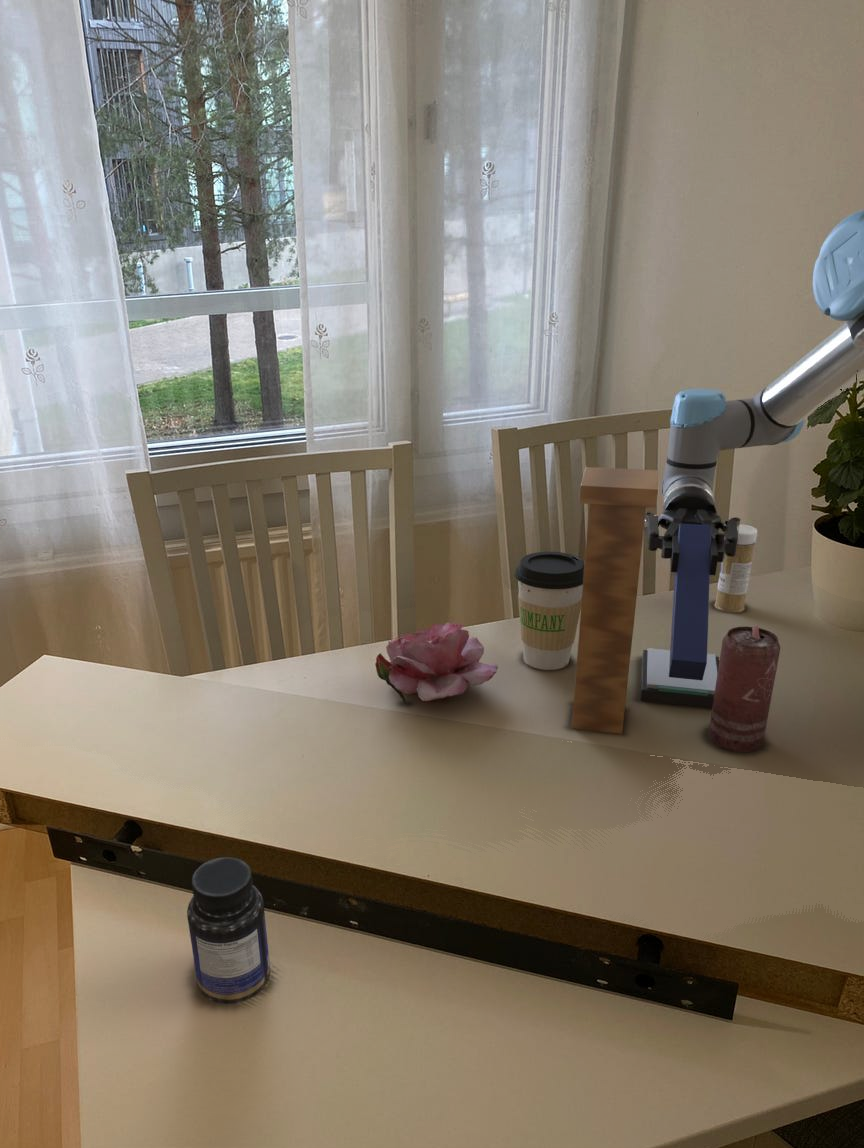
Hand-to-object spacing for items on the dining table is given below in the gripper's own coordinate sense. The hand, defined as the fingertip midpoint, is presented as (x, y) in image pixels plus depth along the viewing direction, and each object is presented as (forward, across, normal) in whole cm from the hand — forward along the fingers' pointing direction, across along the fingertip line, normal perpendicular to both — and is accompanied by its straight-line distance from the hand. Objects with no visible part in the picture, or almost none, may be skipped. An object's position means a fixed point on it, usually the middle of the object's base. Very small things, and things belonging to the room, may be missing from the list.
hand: (694, 563), depth 117 cm
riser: (+15, +10, -16) cm, 24 cm away
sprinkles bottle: (-25, -8, -17) cm, 31 cm away
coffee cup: (0, +18, -17) cm, 24 cm away
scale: (+3, 0, -16) cm, 17 cm away
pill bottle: (+65, +37, -16) cm, 76 cm away
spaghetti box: (+1, 0, -6) cm, 6 cm away
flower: (+13, +31, -17) cm, 37 cm away
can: (+16, -6, -16) cm, 24 cm away
